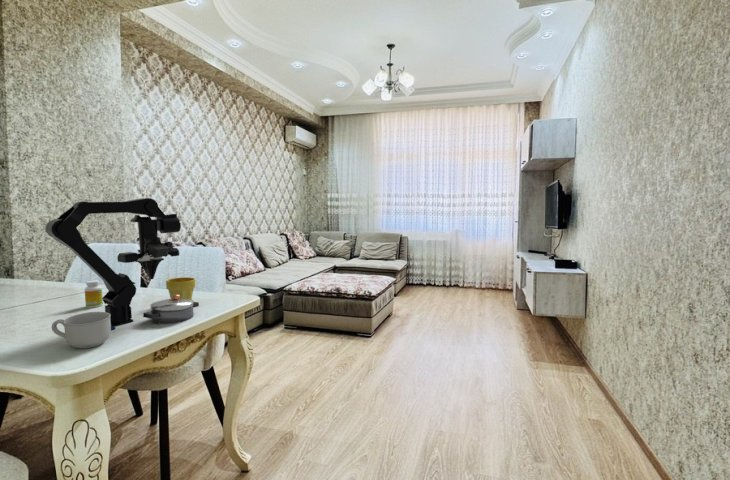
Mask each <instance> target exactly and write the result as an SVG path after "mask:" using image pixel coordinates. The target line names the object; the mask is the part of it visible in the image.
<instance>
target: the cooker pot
mask: <svg viewBox="0 0 730 480" xmlns="http://www.w3.org/2000/svg"><path fill="white" fill-rule="evenodd" d="M197 307H200V303H199V302H198V301H194V300H193V306H192V307H190V308H187V309H183V310H178V311H170V312H157V311H152V310H151V309H150V310H149V311H146V312H145V311H144V312H143V313H142V314H143V318H146V319H151V320H150V321H151V322H152V323H154V324H158V325H159V324H161V325H162V324H163V325H164V324H165V325H166V324H176V323H177V324H178V323H181V322H185V321H188V320H190V319H192V318H194V308H197Z"/></svg>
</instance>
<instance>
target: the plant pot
mask: <svg viewBox="0 0 730 480" xmlns="http://www.w3.org/2000/svg"><path fill="white" fill-rule="evenodd" d="M165 283H166V284H165V286H166V290H168V294H169V299H172V295H180V298H186V299H191V300H193V293H194V289H195V288H196V278H195V277H191V276H190V277H188V276H187V277H185V276H184V277H183V276H181V277H180V276H179V277H173V278H168V279H166V281H165Z"/></svg>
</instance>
